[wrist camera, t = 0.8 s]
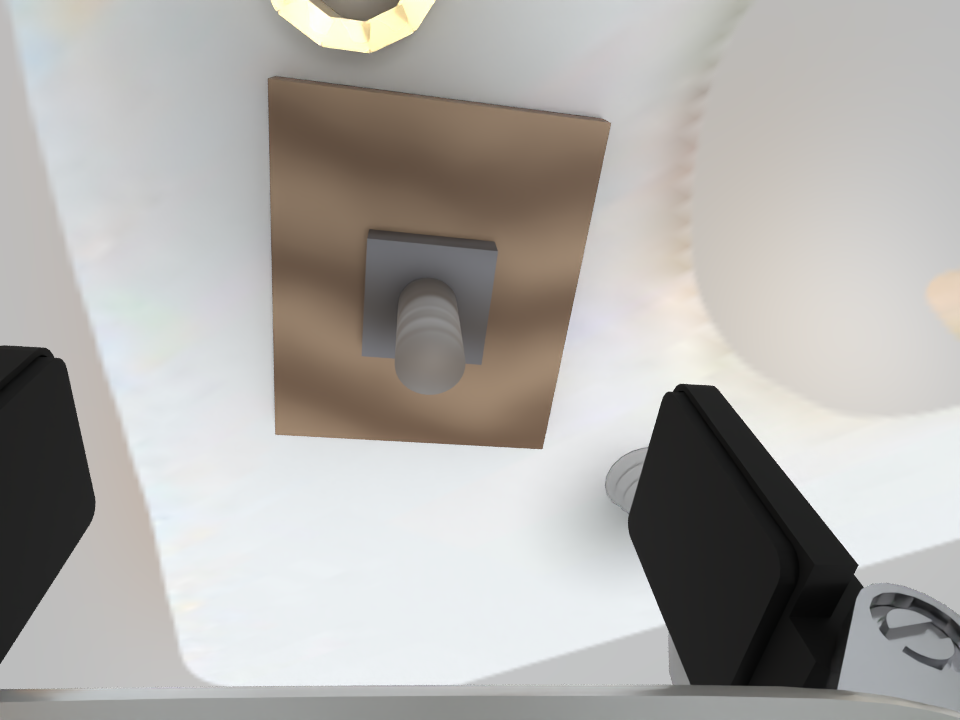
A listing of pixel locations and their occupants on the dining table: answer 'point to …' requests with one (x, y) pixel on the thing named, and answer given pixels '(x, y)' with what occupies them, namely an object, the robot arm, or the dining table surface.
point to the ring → (353, 24)
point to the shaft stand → (423, 262)
